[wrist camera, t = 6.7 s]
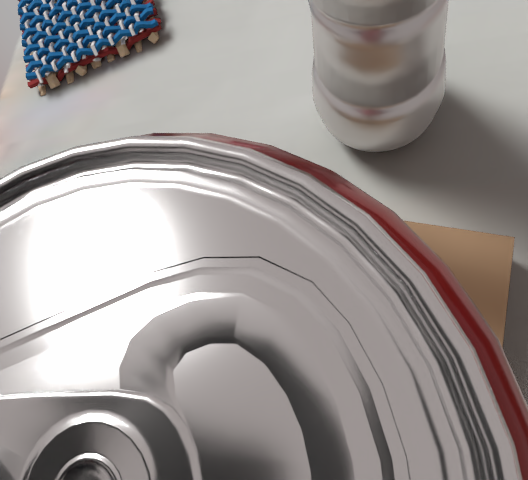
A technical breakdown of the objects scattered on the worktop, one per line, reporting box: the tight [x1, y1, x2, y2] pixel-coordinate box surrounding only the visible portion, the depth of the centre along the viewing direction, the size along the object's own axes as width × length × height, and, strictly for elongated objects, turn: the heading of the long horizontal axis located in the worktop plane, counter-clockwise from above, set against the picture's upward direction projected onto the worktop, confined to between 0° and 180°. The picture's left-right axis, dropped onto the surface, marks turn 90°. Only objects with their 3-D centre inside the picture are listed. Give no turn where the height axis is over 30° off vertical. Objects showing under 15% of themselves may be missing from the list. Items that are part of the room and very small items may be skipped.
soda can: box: [0, 133, 528, 480], centre depth 9 cm, size 7×7×12 cm
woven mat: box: [18, 0, 162, 96], centre depth 32 cm, size 10×11×2 cm
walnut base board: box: [404, 221, 515, 348], centre depth 20 cm, size 18×18×2 cm
